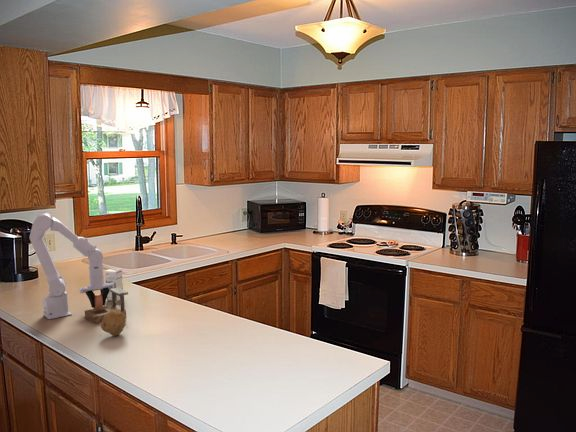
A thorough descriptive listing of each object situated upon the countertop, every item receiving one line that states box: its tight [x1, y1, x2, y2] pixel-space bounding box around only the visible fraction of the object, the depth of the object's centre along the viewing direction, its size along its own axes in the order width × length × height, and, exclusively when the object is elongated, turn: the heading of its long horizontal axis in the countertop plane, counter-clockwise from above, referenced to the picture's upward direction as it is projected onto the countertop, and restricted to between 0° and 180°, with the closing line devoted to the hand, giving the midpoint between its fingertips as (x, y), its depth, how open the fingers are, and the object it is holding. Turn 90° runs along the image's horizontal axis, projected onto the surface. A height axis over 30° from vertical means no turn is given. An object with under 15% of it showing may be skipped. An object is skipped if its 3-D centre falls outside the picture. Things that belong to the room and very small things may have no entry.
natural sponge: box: [100, 310, 127, 337], centre depth 198 cm, size 9×9×10 cm
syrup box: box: [104, 268, 124, 302], centre depth 245 cm, size 6×6×14 cm
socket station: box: [84, 287, 129, 325], centre depth 220 cm, size 15×11×10 cm
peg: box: [93, 293, 104, 309], centre depth 229 cm, size 4×4×7 cm
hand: (98, 306), depth 229 cm, fingers closed on peg, 4 cm apart
